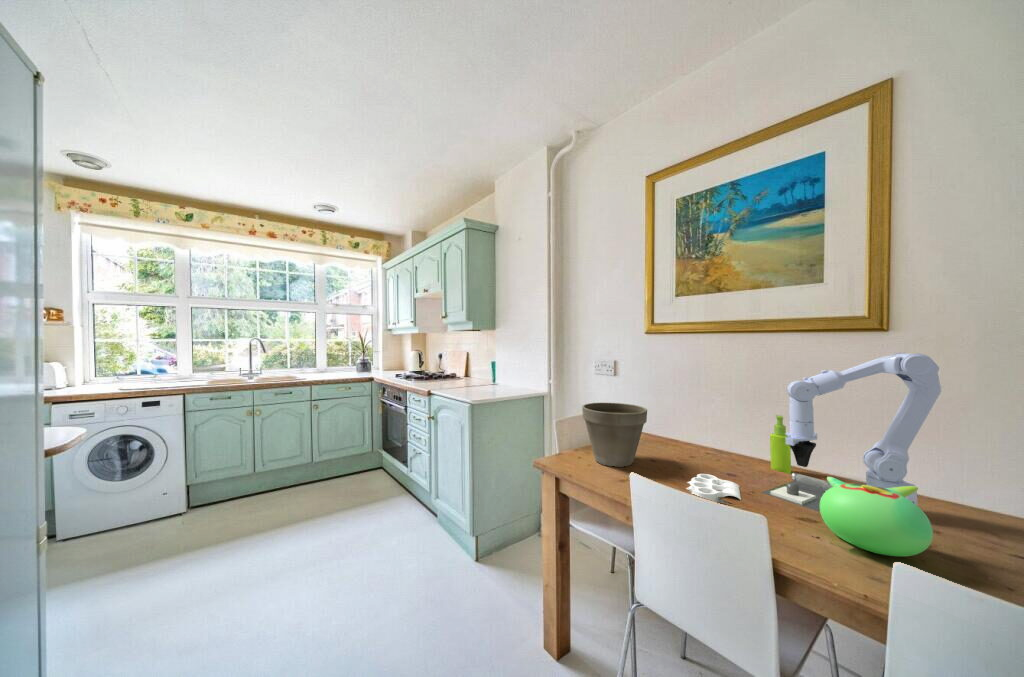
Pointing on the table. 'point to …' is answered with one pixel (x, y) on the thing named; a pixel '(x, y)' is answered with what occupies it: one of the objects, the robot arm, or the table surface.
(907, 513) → the toy bird
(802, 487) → the panel
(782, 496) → the cover
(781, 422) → the soap dispenser
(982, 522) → the table surface
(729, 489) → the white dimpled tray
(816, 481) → the t key
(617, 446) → the plant pot
